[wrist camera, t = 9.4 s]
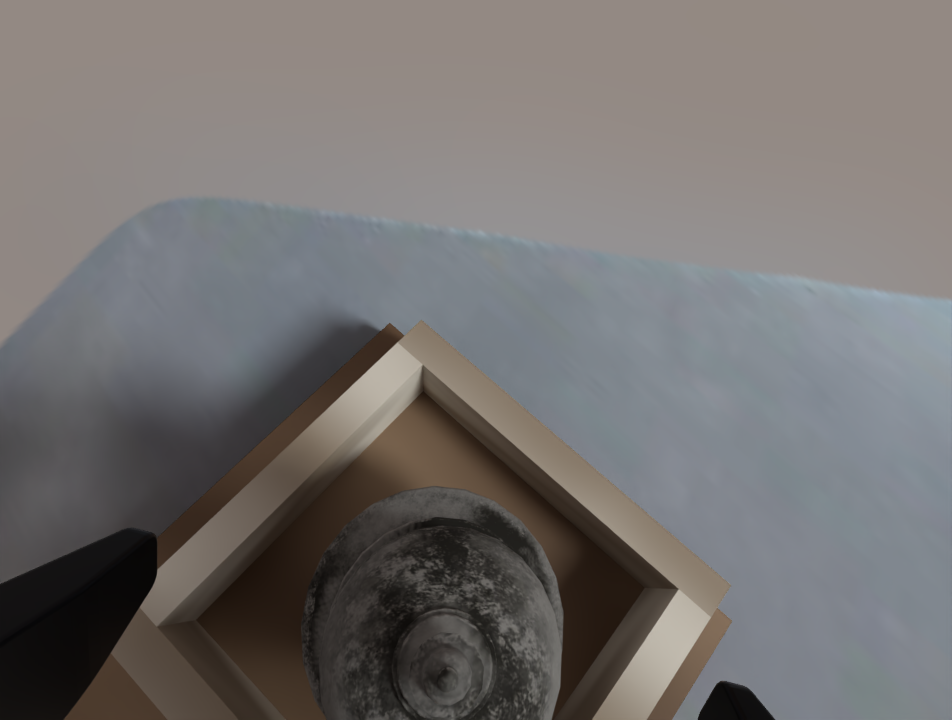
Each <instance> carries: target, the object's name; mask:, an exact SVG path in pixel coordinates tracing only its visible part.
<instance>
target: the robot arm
mask: <svg viewBox="0 0 952 720" xmlns="http://www.w3.org/2000/svg"><path fill="white" fill-rule="evenodd" d="M157 552H158V541H157V537H156V535H155V534H154V533H152V532H148V531H144V530H140V529H136V528H127V529H124V530H121V531H119V532H117V533H114V534H112V535H110V536H108V537H105V538H103V539H101V540H99V541H96V542H94V543H92V544H89V545H87V546H85V547H83V548H80V549H78V550H76V551H74V552H71V553H69V554H67V555H65V556H62V557H60V558H58V559H56V560H53V561H51V562H49V563H47V564H44V565H42V566H40V567H38V568H35V569H33V570H31V571H29V572H26V573H24V574H22V575H19V576H17V577H15V578H13V579H10V580H8V581H6V582H4V583H1V584H0V720H64V719H65V718H66V716H67V715H68V714H69V712H70V711H71V710H72V708H73V707H74V706H75V705H76V703H77V702H78V701H79V699H80V698H81V697H82V695H83V694H84V693H85V691H86V690H87V688H88V687H89V686H90V684H91V683H92V681H93V680H94V678H95V677H96V675H97V674H98V672H99V671H100V669H101V668H102V666H103V665H104V663H105V662H106V660H107V658H108V657H109V655H110V654H111V652H112V650H113V649H114V647H115V646H116V644H117V643H118V641H119V639H120V638H121V636H122V635H123V633H124V631H125V630H126V628H127V627H128V625H129V624H130V622H131V620H132V619H133V617H134V616H135V614H136V612H137V611H138V609H139V608H140V606H141V604H142V603H143V601H144V600H145V598H146V597H147V595H148V593H149V592H150V590H151V589H152V587H153V585H154V583H155V580H156V576H157ZM698 720H775V719H774V718H773V716H772V715H771V714H770V713H769V712H768V710H767V709H766V708H765V707H764V706H763V704H762V703H761V702H760V701H759V699H758V698H757V697H756V696H755V695H754V693H753V692H752V691H751V690H750V689H748V688H747V687H745V686H742V685H739V684H735V683H731V682H727V681H720V682H719V683H717V684H716V686H715V687H714V689H713V691H712V692H711V694H710V696H709V698H708V699H707V701H706V703H705V705H704V706H703V708H702V710H701V712H700V714H699V717H698Z"/></svg>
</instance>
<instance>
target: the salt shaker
mask: <svg viewBox="0 0 952 720" xmlns="http://www.w3.org/2000/svg"><path fill="white" fill-rule="evenodd" d="M301 634H302V654H303V665H304V668H305V671H306V674H307V678H308V681H309V684H310V687H311V690H312V694H313V697H314V700H315V702H316V703H317V705H318V706H319V708H320V709H321V711H322V713H323V714H324V716H325V717H326V719H327V720H552V716H553V712H554V708H555V705H556V701H557V697H558V694H559V690H560V682H561V654H562V642H563V608H562V603H561V598H560V593H559V588H558V583H557V578H556V576H555V573H554V571H553V569H552V567H551V565H550V563H549V561H548V559H547V556H546V554H545V552H544V550H543V548H542V546H541V545H540V543H539V542H538V541H537V540H536V538H535V537H534V536H533V535H532V533H531V532H530V531H529V530H528V529H527V527H526V526H525V525H524V524H523V522H522V521H521V520H520V519H519V518H517V517H516V516H514V515H513V514H512V513H510V512H509V511H508V510H506V509H505V508H504V507H502V506H501V505H500V504H498V503H497V502H495V501H494V500H491V499H489V498H486V497H484V496H481V495H478V494H476V493H473V492H471V491H468V490H466V489H458V488H449V487H440V486H430V487H423V488H417V489H411V490H404V491H401V492H399V493H396V494H394V495H392V496H389V497H387V498H385V499H383V500H380V501H378V502H376V503H373V504H372V505H370V506H369V507H368V508H367V509H365V510H364V511H363V512H362V513H360V514H359V515H358V516H356V517H355V518H354V519H353V520H351V521H350V522H349V523H347V524H346V525H345V526H344V528H343V529H342V530H341V531H340V533H339V534H338V535H337V537H336V538H335V539H334V540H333V542H332V543H331V544H330V546H329V547H328V548H327V549H326V551H325V552H324V553H323V555H322V558H321V560H320V562H319V564H318V566H317V569H316V571H315V573H314V575H313V577H312V580H311V582H310V584H309V586H308V591H307V596H306V601H305V606H304V611H303V617H302V622H301Z"/></svg>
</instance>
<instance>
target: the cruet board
mask: <svg viewBox="0 0 952 720" xmlns="http://www.w3.org/2000/svg"><path fill="white" fill-rule="evenodd" d="M430 486H440V487H449V488H458V489H466V490H468V491H471V492H473V493H476V494H478V495H481V496H484V497H486V498H489V499H491V500H494V501H495V502H497V503H498V504H500V505H501V506H502V507H504V508H505V509H506V510H508V511H509V512H510V513H512V514H513V515H514V516H516V517H517V518H519V519H520V520H521V521H522V522H523V524H524V525H525V526H526V527H527V529H528V530H529V531H530V532H531V533H532V535H533V536H534V537H535V538H536V540H537V541H538V542H539V543H540V545H541V546H542V548H543V550H544V552H545V554H546V556H547V559H548V561H549V563H550V565H551V567H552V569H553V571H554V573H555V576H556V578H557V583H558V588H559V593H560V598H561V603H562V608H563V642H562V654H561V682H560V690H559V694H558V697H557V701H556V705H555V708H554V712H553V716H552V720H672V718H673V717H674V715H675V714H676V712H677V710H678V709H679V707H680V705H681V704H682V702H683V701H684V699H685V697H686V696H687V694H688V692H689V691H690V689H691V688H692V686H693V684H694V683H695V681H696V679H697V678H698V676H699V674H700V673H701V671H702V670H703V668H704V666H705V665H706V663H707V661H708V660H709V658H710V657H711V655H712V653H713V652H714V650H715V648H716V647H717V645H718V643H719V642H720V640H721V639H722V637H723V635H724V634H725V632H726V630H727V629H728V627H729V626H730V624H731V622H732V620H730V619H729V618H728V617H727V616H726V615H725V614H724V613H722V612H721V611H720V610H719V609H718V608H717V607H718V606H719V604H720V602H721V601H722V599H723V598H724V596H725V594H726V593H727V591H728V590H729V588H730V586H731V585H730V584H729V583H728V582H727V581H726V580H724V579H723V578H722V577H721V576H720V575H719V574H717V573H716V572H715V571H714V570H713V569H712V568H710V567H709V566H708V565H707V564H706V563H705V562H703V561H702V560H701V559H700V558H699V557H698V556H696V555H695V554H694V553H693V552H692V551H691V550H689V549H688V548H687V547H686V546H685V545H684V544H682V543H681V542H680V541H679V540H678V539H677V538H675V537H674V536H673V535H672V534H671V533H670V532H668V531H667V530H666V529H665V528H664V527H663V526H661V525H660V524H659V523H658V522H657V521H656V520H654V519H653V518H652V517H651V516H650V515H649V514H647V513H646V512H645V511H644V510H643V509H642V508H640V507H639V506H638V505H637V504H636V503H634V502H633V501H632V500H631V499H630V498H629V497H627V496H626V495H625V494H624V493H623V492H622V491H620V490H619V489H618V488H617V487H616V486H615V485H613V484H612V483H611V482H610V481H609V480H608V479H606V478H605V477H604V476H603V475H602V474H601V473H599V472H598V471H597V470H596V469H595V468H594V467H592V466H591V465H590V464H589V463H588V462H587V461H585V460H584V459H583V458H582V457H581V456H580V455H578V454H577V453H576V452H575V451H574V450H573V449H571V448H570V447H569V446H568V445H567V444H566V443H564V442H563V441H562V440H561V439H560V438H559V437H557V436H556V435H555V434H554V433H553V432H552V431H550V430H549V429H548V428H547V427H546V426H545V425H543V424H542V423H541V422H540V421H539V420H538V419H536V418H535V417H534V416H533V415H532V414H531V413H529V412H528V411H527V410H526V409H525V408H524V407H522V406H521V405H520V404H519V403H518V402H517V401H515V400H514V399H513V398H512V397H511V396H510V395H508V394H507V393H506V392H505V391H504V390H503V389H501V388H500V387H499V386H498V385H497V384H496V383H494V382H493V381H492V380H491V379H490V378H489V377H487V376H486V375H485V374H484V373H483V372H482V371H480V370H479V369H478V368H477V367H476V366H475V365H473V364H472V363H471V362H470V361H469V360H468V359H466V358H465V357H464V356H463V355H462V354H461V353H459V352H458V351H457V350H456V349H455V348H454V347H452V346H451V345H450V344H449V343H448V342H447V341H445V340H444V339H443V338H442V337H441V336H440V335H438V334H437V333H436V332H435V331H434V330H433V329H431V328H430V327H429V326H428V325H427V324H426V323H424V322H423V321H422V320H421V321H420V322H419V323H418V324H417V325H415V326H414V327H413V328H412V329H411V330H410V331H409V332H408V333H407V334H406V335H405V336H404V335H403V334H402V333H401V332H400V331H399V330H397V329H396V328H395V327H394V326H393V325H392V324H390V323H389V324H388V325H387V326H386V327H385V328H384V329H383V330H382V331H380V332H379V333H378V334H377V335H376V336H375V337H374V338H373V339H372V340H371V341H370V342H369V343H367V344H366V345H365V346H364V347H363V348H362V349H361V350H360V351H359V352H358V353H357V354H356V355H354V356H353V357H352V358H351V359H350V360H349V361H348V362H347V363H346V364H345V365H344V366H343V367H341V368H340V369H339V370H338V371H337V372H336V373H335V374H334V375H333V376H332V377H331V378H330V379H328V380H327V381H326V382H325V383H324V384H323V385H322V386H321V387H320V388H319V389H318V390H317V391H315V392H314V393H313V394H312V395H311V396H310V397H309V398H308V399H307V400H306V401H305V402H304V403H302V404H301V405H300V406H299V407H298V408H297V409H296V410H295V411H294V412H293V413H292V414H291V415H290V416H288V417H287V418H286V419H285V420H284V421H283V422H282V423H281V424H280V425H279V426H278V427H277V428H275V429H274V430H273V431H272V432H271V433H270V434H269V435H268V436H267V437H266V438H265V439H264V440H262V441H261V442H260V443H259V444H258V445H257V446H256V447H255V448H254V449H253V450H252V451H251V452H249V453H248V454H247V455H246V456H245V457H244V458H243V459H242V460H241V461H240V462H239V463H238V464H236V465H235V466H234V467H233V468H232V469H231V470H230V471H229V472H228V473H227V474H226V475H225V476H223V477H222V478H221V479H220V480H219V481H218V482H217V483H216V484H215V485H214V486H213V487H212V488H211V489H209V490H208V491H207V492H206V493H205V494H204V495H203V496H202V497H201V498H200V499H199V500H198V501H196V502H195V503H194V504H193V505H192V506H191V507H190V508H189V509H188V510H187V511H186V512H185V513H183V514H182V515H181V516H180V517H179V518H178V519H177V520H176V521H175V522H174V523H173V524H172V525H170V526H169V527H168V528H167V529H166V530H165V531H164V532H163V533H162V534H161V535H160V536H159V537H157V541H158V552H157V576H156V580H155V583H154V585H153V587H152V589H151V590H150V592H149V593H148V595H147V597H146V598H145V600H144V601H143V603H142V604H141V606H140V608H139V609H138V611H137V612H136V614H135V616H134V617H133V619H132V620H131V622H130V624H129V625H128V627H127V628H126V630H125V631H124V633H123V635H122V636H121V638H120V639H119V641H118V643H117V644H116V646H115V647H114V649H113V650H112V652H111V654H110V655H109V657H108V658H107V660H106V662H105V663H104V665H103V666H102V668H101V669H100V671H99V672H98V674H97V675H96V677H95V678H94V680H93V681H92V683H91V684H90V686H89V687H88V688H87V690H86V691H85V693H84V694H83V695H82V697H81V698H80V699H79V701H78V702H77V703H76V705H75V706H74V707H73V708H72V710H71V711H70V712H69V714H68V715H67V716H66V718H65V719H64V720H327V719H326V717H325V716H324V714H323V713H322V711H321V709H320V708H319V706H318V705H317V703H316V702H315V700H314V697H313V694H312V690H311V687H310V684H309V681H308V678H307V674H306V671H305V668H304V665H303V654H302V634H301V622H302V617H303V611H304V606H305V601H306V596H307V591H308V586H309V584H310V582H311V580H312V577H313V575H314V573H315V571H316V569H317V566H318V564H319V562H320V560H321V558H322V555H323V553H324V552H325V551H326V549H327V548H328V547H329V546H330V544H331V543H332V542H333V540H334V539H335V538H336V537H337V535H338V534H339V533H340V531H341V530H342V529H343V528H344V526H345V525H346V524H347V523H349V522H350V521H351V520H353V519H354V518H355V517H356V516H358V515H359V514H360V513H362V512H363V511H364V510H365V509H367V508H368V507H369V506H370V505H372V504H373V503H376V502H378V501H380V500H383V499H385V498H387V497H389V496H392V495H394V494H396V493H399V492H401V491H404V490H411V489H417V488H423V487H430Z"/></svg>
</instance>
